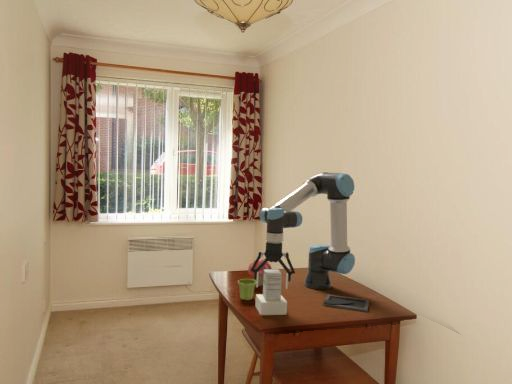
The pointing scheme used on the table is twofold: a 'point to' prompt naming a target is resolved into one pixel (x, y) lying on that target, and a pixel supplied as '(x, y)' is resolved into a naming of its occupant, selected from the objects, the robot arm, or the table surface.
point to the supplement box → (272, 284)
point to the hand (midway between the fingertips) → (271, 287)
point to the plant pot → (246, 288)
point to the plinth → (270, 306)
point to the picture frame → (346, 303)
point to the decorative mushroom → (261, 272)
